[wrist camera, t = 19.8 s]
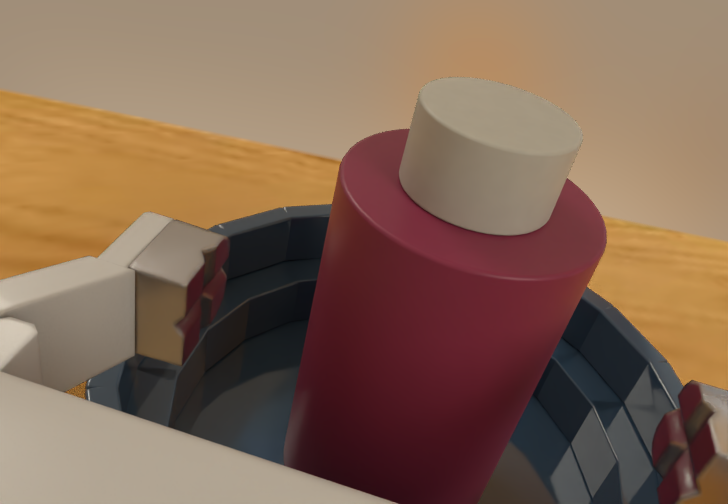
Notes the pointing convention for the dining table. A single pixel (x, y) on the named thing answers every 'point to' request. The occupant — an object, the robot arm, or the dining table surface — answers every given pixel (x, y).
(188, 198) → the dining table surface
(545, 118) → the yogurt bottle
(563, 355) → the bowl
